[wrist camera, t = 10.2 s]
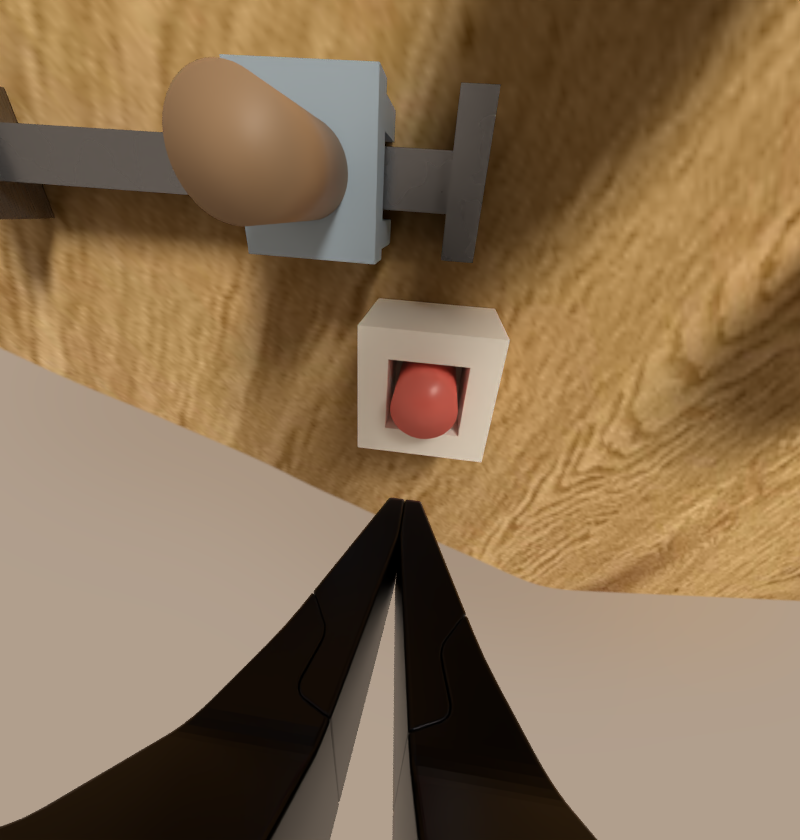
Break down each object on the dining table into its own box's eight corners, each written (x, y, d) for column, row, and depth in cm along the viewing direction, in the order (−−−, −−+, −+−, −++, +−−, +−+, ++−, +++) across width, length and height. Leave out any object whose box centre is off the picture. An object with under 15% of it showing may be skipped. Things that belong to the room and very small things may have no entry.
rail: (487, 114, 14) (500, 84, 11) (467, 251, 17) (472, 262, 13) (-22, 86, 16) (-153, 52, 12) (33, 216, 18) (-63, 218, 15)
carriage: (396, 97, 14) (333, -39, 6) (389, 253, 17) (341, 290, 9) (273, 91, 14) (72, -46, 7) (288, 244, 17) (159, 273, 10)
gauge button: (459, 348, 17) (462, 384, 14) (451, 399, 19) (452, 442, 15) (403, 343, 17) (391, 376, 14) (399, 393, 19) (388, 435, 15)
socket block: (495, 308, 18) (509, 340, 14) (474, 410, 21) (481, 462, 17) (378, 298, 18) (357, 325, 14) (375, 399, 21) (357, 447, 17)
